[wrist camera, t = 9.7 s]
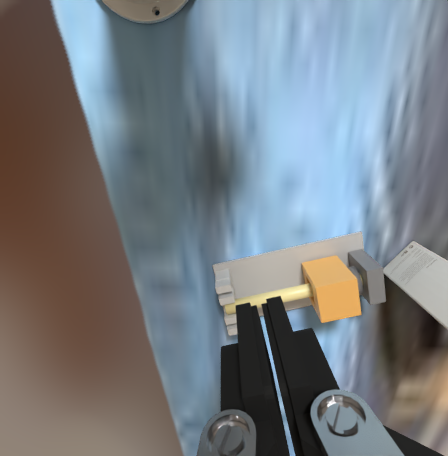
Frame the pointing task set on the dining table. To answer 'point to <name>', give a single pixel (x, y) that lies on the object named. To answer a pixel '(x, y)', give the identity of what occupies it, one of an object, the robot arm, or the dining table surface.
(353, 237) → the rail
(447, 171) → the dining table surface
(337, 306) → the sleeve
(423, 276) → the skincare box
